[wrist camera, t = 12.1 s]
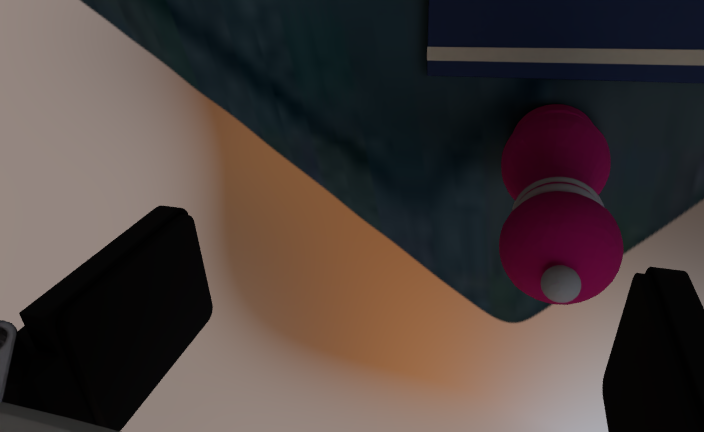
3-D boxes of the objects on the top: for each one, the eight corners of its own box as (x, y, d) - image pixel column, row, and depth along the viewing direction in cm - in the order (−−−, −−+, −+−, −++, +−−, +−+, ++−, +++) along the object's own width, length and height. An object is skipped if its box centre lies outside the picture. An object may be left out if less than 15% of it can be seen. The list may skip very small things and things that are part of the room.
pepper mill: (577, 196, 41) (602, 377, 24) (491, 166, 42) (459, 320, 26) (622, 114, 37) (688, 263, 21) (526, 84, 38) (515, 202, 22)
